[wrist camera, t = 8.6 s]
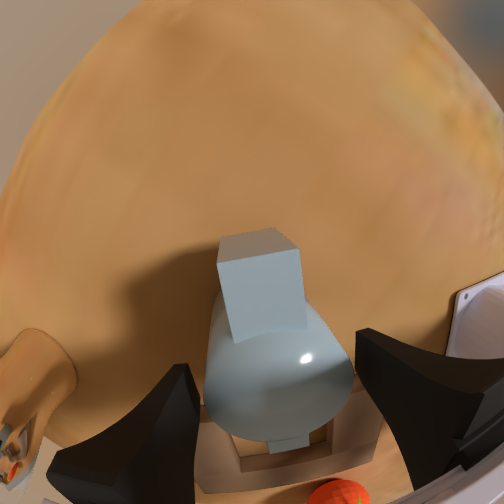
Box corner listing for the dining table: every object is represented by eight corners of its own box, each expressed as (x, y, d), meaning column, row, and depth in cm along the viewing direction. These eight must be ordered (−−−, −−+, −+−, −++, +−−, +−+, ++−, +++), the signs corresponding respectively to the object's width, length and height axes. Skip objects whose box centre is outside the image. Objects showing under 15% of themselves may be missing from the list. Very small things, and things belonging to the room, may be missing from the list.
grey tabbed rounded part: (312, 356, 17) (349, 434, 10) (226, 373, 16) (227, 459, 10) (296, 216, 15) (351, 240, 8) (192, 235, 14) (161, 274, 8)
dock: (379, 366, 18) (390, 380, 16) (365, 448, 20) (371, 461, 18) (163, 407, 17) (159, 424, 15) (205, 480, 19) (204, 493, 18)
